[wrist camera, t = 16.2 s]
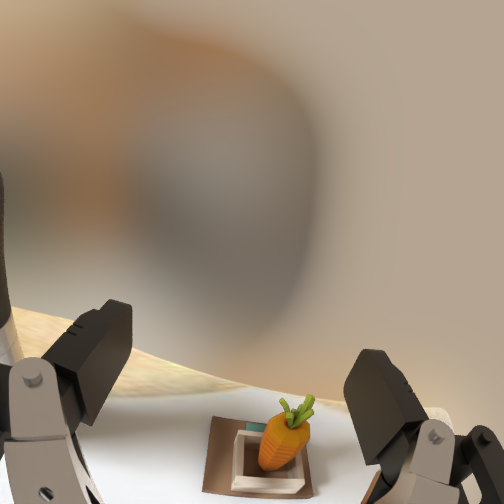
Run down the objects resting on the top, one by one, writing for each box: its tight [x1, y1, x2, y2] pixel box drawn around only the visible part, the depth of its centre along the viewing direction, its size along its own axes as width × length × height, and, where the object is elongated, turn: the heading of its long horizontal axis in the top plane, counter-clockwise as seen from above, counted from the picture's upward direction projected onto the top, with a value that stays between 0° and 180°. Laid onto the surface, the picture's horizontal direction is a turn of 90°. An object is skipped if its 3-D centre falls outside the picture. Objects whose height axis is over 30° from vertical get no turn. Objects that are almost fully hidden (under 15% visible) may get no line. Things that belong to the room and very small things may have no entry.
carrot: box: [258, 395, 315, 471], centre depth 26 cm, size 5×5×15 cm
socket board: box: [202, 416, 313, 499], centre depth 30 cm, size 14×13×5 cm
